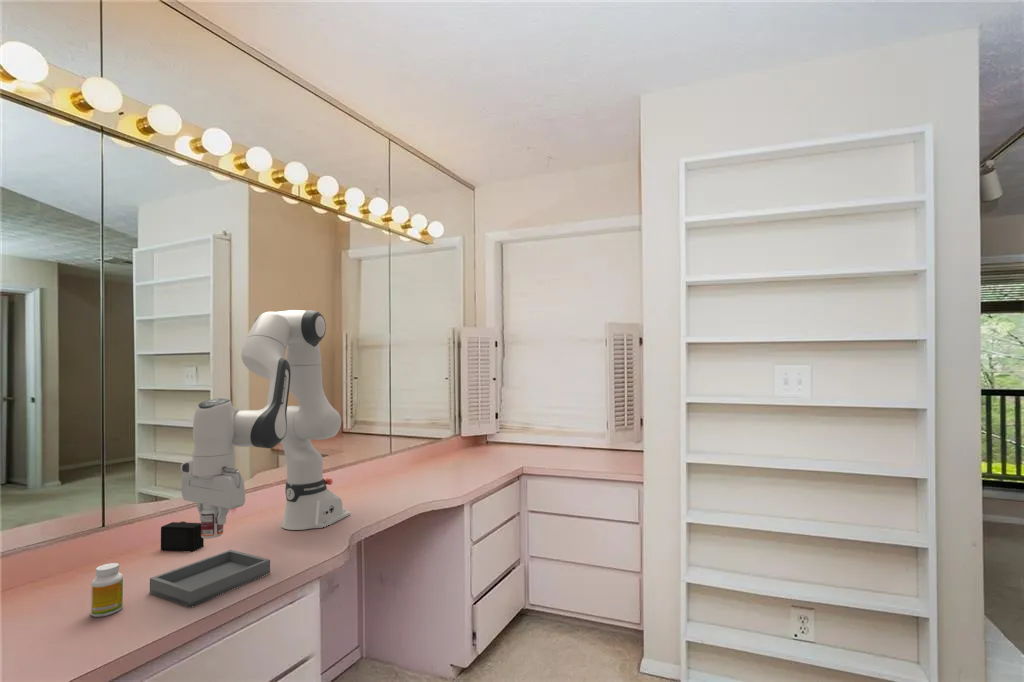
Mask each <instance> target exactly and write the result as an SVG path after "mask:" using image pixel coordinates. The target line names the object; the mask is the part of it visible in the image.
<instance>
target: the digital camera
mask: <svg viewBox="0 0 1024 682" xmlns="http://www.w3.org/2000/svg"><path fill="white" fill-rule="evenodd" d="M201 547H202V548H203V547H204V538H202V537H201V522H187V521H180V522H177V521H176V522H175V521H172V522H170V523H167V524H165V525H162V526H161V527H160V551H161V550H163V552H184V551H190V552H189V553H191V552H192V553H194V552H196V551H198V550H200V549H202V548H201ZM199 548H200V549H199ZM197 549H198V550H197ZM165 550H166V551H165ZM195 550H196V551H195ZM193 551H194V552H193Z"/></svg>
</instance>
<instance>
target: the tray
mask: <svg viewBox="0 0 1024 682" xmlns="http://www.w3.org/2000/svg"><path fill="white" fill-rule="evenodd" d="M268 573H270V574H271V559H270V558H269V559H268V558H265V557H260V556H258V555H254V554H249V553H246V552H241V551H237V550H233V549H229V550H226V551H223V552H221V553H217V554H214V555H212V556H208V557H206V558H204V559H201V560H197V561H195V562H191V563H189V564H187V565H184V566H180V567H177V568H175V569H172V570H169V571H166V572H164V573H162V574H159V575H158V574H157V575H154V576H152V577H150V578H149V594H150V593H151V594H150V595H153V596H156V597H159V598H161V599H165V600H167V601H169V602H173V603H175V604H178V605H181V606H184V607H186V606H187V608H189V607H191V608H193V607H196V606H198V605H200V604H202V603H204V602H207V601H210V600H212V599H214V598H217V597H219V596H221V595H223V594H222V593H224V594H226V593H228V592H230V590H231V591H233V590H235V589H238V588H240V587H242V586H244V585H243V584H245V585H247V584H249V583H251V582H250V581H252V582H254V581H256V580H259V579H261V578H263V577H265V576H264V575H266V574H268ZM268 575H269V574H268ZM262 576H263V577H262ZM266 576H267V575H266ZM260 577H261V578H260ZM258 578H259V579H258ZM255 579H256V580H255ZM253 580H254V581H253ZM248 582H249V583H248ZM246 583H247V584H246ZM241 585H242V586H241ZM239 586H240V587H239ZM237 587H238V588H237ZM234 588H235V589H234ZM232 589H233V590H232ZM225 592H226V593H225ZM220 594H221V595H220ZM218 595H219V596H218ZM216 596H217V597H216ZM213 597H214V598H213ZM197 604H198V605H197ZM195 605H196V606H195ZM192 606H193V607H192Z"/></svg>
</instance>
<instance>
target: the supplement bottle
mask: <svg viewBox="0 0 1024 682" xmlns="http://www.w3.org/2000/svg"><path fill="white" fill-rule="evenodd" d="M119 571H120V564H119V563H117V562H112V563H111V562H110V563H105V564H102V565H99V566H98V567H96V568H95V576H96V577H94V578H93V580H92V582H91V590H90V592H91V594H90V597H91V598H90V599H91V600H90V601H91V602H90V603H91V604H90V605H91V606H90V615H91V616H92V617H95V618H103V617H106V616H110V615H113V614H116V613H118V612H119V611H121V610H122V608H123V604H124V603H123V597H124V596H123V592H124V590H123V589H124V575H123V574H122V573H120V572H119Z"/></svg>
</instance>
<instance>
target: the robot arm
mask: <svg viewBox="0 0 1024 682" xmlns="http://www.w3.org/2000/svg"><path fill="white" fill-rule="evenodd" d="M326 329H327V324H326V320H325V318H324V315H322V314H321V312H319V311H318V310H311V309H307V310H301V309H300V310H299V309H289V310H288V309H287V310H282V311H281V310H280V311H266V312H262V313H261V314H259V315H257V317H256V318H255V320H254V322H253V324H252V326H251V327H250V329H249V332H248V334H247V336H246V339H245V341H244V344H243V346H242V349H241V354H240V355H241V356H240V357H241V360H242V363H243V365H244V366H245V367H246V368H247V369H248V370H249V371H250V372H252V373H253V374H255V375H257V376H258V377H262V378H264V379H267V380H269V387H268V388H269V389H268V395H267V402H266V405H265V406H264V407H263V408H261V409H240V408H237V407H235V406H234V405H233V404H232V403H233V402H232V401H231V400H230V399H229V398H213V399H208V400H207V399H206V400H203V401H201V402H200V403H198V404H197V406H196V408H195V410H194V411H195V412H194V416H193V423H192V425H193V426H192V440H193V442H194V449H193V451H192V459H190V460H188V461H185V462H183V463H181V464H180V472H181V473H182V474H181V486H180V487H181V496H182V498H183V500H184V501H187V502H192V503H196V508H197V510H198V513H199V521H200V522H201V512H202V510H204V509H203V503H208V504H209V505H212V506H217V507H218V511H219V514H218V517H215V520H216V521H215V523H216V524H218V525H222V524H223V525H224V524H226V523H227V515H228V513H229V511H230V510H234V509H237V508H241V507H243V506H244V505H245V502H246V488H245V481H244V478H243V476H242V474H241V473H240V471H239V470H238V469H237V468H235V466H234V465H235V457H234V456H235V449H234V447H240V448H243V447H245V448H247V447H250V448H251V447H252V448H253V447H255V448H260V449H261V448H262V449H272V448H275V447H276V446H277V445H279V444H281V447H282V449H283V452H284V454H285V461H286V475H287V476H286V482H285V487H284V489H285V490H284V491H285V499H286V501H285V508H284V515H283V519H282V522H281V528H282V529H285V530H288V531H289V530H290V531H300V530H302V531H303V530H309V529H322V528H323V527H324V528H326V526H327V527H328V525H329V526H330V525H332V524H335V523H337V522H338V521H340V520H342V519H344V518H346V517H348V516H351V513H350V511H349V510H347V509H345V508H344V507H343V506H344V505H343V501H342V498H341V497H340V496H338V495H337V494H336V493H334V492H333V491H331V490H330V489H328V487H327V485H329V486H331V485H332V484H333V481H334V480H333V479H332V478H324V477H323V476H324V475H323V471H324V470H323V465H324V464H323V461H324V460H323V456H322V454H321V453H320V451H318V450H317V449H316V448H315V447H314V445H313V444H312V440H314V441H315V440H316V441H318V440H319V441H320V440H327V439H330V438H334V437H335V436H336V435H337V434H338V433H339V431H340V430H341V426H342V418H341V415H340V413H339V412H338V410H336V409H335V408H334V407H333V406H332V404H331V403H330V401H329V400H328V398H327V396H326V394H325V390H324V386H323V371H322V354H321V348H320V344H319V343H320V342H321V341H322V340H323V338H324V337H325V334H326V331H327V330H326ZM285 354H286V355H285ZM285 356H286V357H285ZM290 394H292V395H293V396H294V398H295V399H296V401H297V403H298V405H288V402H289V396H290Z"/></svg>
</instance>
